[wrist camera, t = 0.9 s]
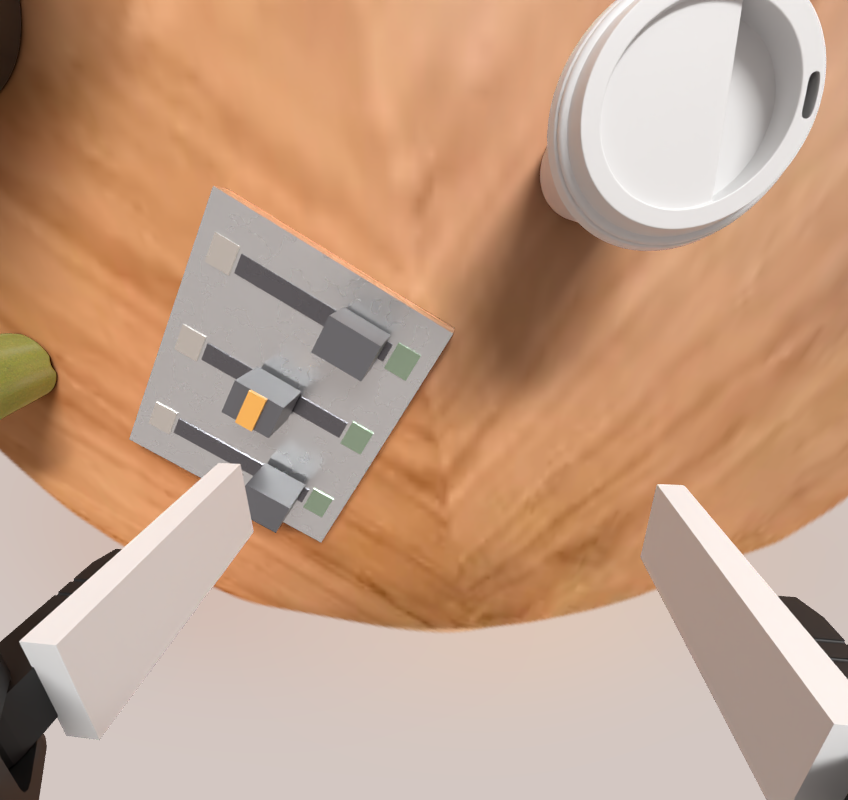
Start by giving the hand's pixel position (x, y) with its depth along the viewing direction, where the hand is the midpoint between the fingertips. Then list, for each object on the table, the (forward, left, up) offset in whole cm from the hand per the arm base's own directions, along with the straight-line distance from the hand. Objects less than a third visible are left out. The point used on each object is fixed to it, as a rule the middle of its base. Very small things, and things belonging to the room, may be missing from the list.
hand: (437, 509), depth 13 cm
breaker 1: (-11, -11, -20) cm, 25 cm away
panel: (-11, -11, -22) cm, 27 cm away
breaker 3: (-7, -3, -20) cm, 21 cm away
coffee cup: (+1, +15, -22) cm, 27 cm away
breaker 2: (-7, -19, -20) cm, 28 cm away
